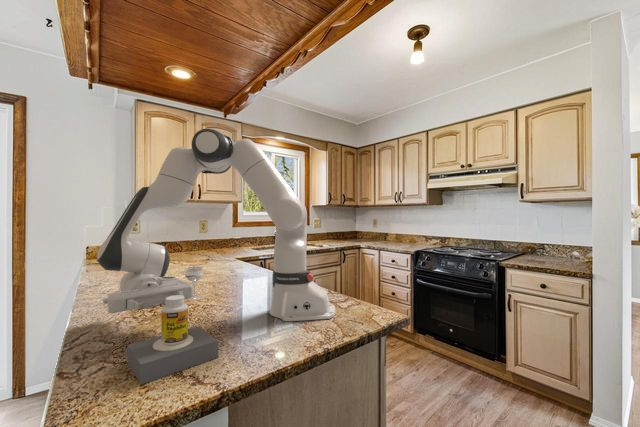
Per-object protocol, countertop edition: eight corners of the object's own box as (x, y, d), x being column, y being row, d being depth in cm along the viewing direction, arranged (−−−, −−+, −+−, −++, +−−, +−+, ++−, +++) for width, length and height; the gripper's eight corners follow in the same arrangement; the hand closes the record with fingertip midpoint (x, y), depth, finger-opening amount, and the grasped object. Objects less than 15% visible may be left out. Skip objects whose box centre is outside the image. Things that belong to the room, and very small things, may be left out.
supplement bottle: (162, 348, 65) (162, 302, 65) (160, 339, 70) (160, 296, 70) (190, 342, 68) (190, 298, 68) (185, 334, 73) (185, 292, 73)
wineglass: (197, 301, 114) (197, 270, 114) (181, 300, 115) (181, 269, 115) (206, 296, 121) (206, 266, 120) (191, 295, 122) (191, 266, 122)
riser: (198, 341, 79) (198, 325, 79) (218, 357, 70) (218, 339, 70) (127, 362, 68) (127, 344, 68) (140, 384, 59) (140, 363, 59)
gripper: (101, 287, 78) (111, 298, 68) (182, 275, 92) (200, 283, 82) (101, 311, 78) (111, 325, 68) (182, 296, 92) (200, 306, 82)
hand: (160, 302), depth 75 cm, fingers open, 8 cm apart
